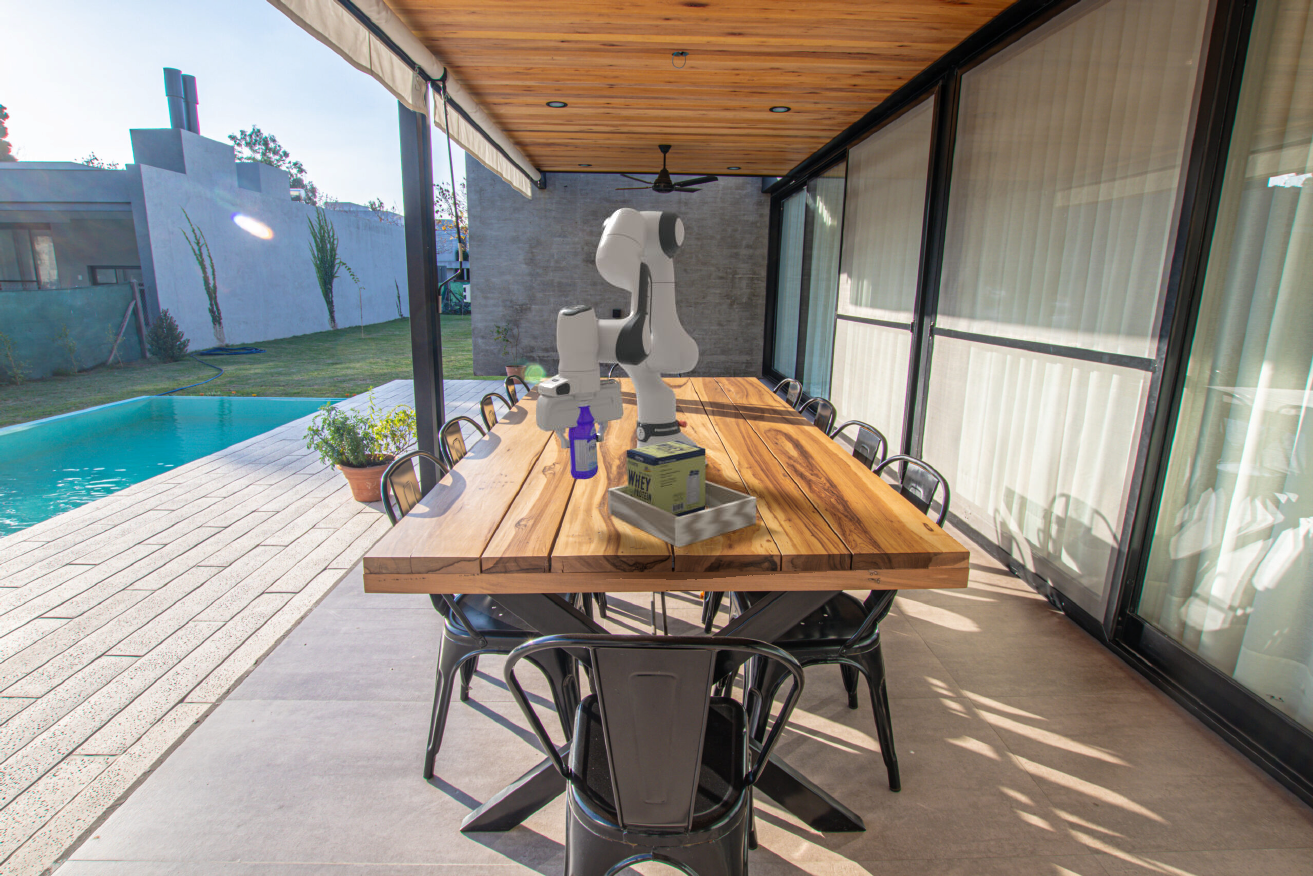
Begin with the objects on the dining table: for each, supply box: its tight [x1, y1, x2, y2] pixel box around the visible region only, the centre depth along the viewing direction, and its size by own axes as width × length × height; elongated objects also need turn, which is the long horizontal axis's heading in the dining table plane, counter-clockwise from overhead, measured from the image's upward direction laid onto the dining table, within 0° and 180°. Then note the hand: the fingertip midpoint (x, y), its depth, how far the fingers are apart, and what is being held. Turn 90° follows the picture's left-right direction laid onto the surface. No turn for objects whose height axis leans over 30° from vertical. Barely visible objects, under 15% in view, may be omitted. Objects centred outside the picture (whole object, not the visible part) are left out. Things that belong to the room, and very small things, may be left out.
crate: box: [607, 480, 757, 548], centre depth 145 cm, size 22×26×6 cm
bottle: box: [567, 400, 599, 480], centre depth 140 cm, size 7×6×17 cm
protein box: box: [626, 441, 706, 517], centre depth 148 cm, size 10×16×16 cm
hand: (582, 444), depth 141 cm, fingers closed on bottle, 7 cm apart
